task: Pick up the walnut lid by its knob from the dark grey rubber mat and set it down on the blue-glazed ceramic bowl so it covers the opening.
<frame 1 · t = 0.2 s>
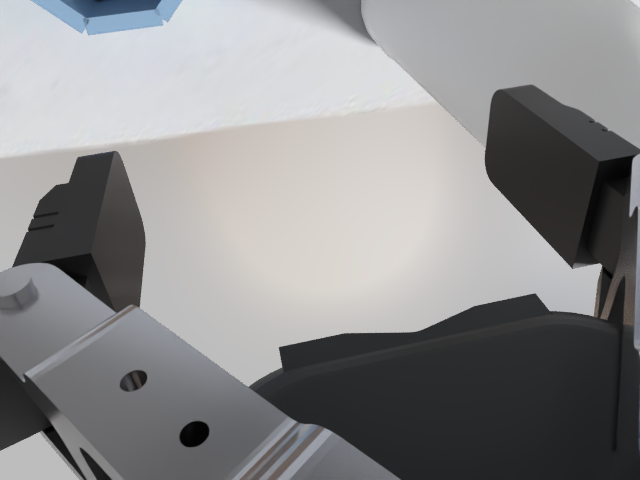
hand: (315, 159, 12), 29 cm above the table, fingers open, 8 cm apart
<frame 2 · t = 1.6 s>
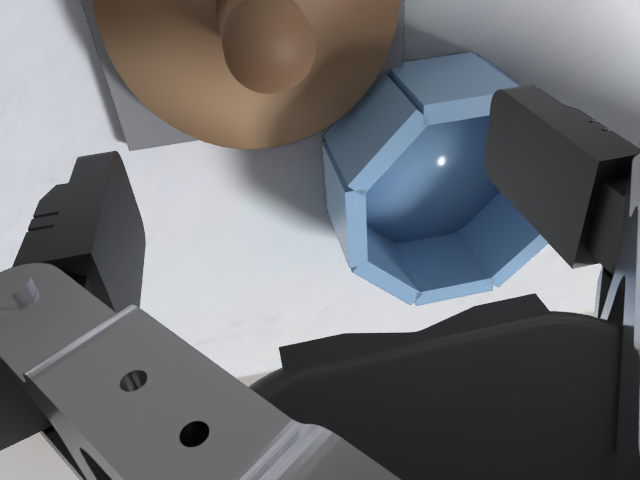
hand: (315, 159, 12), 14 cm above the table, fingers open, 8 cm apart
lid: (252, 5, 22), point 1 cm above the table, touching mat
mat: (250, 1, 23), on the table
bowl: (425, 160, 29), on the table
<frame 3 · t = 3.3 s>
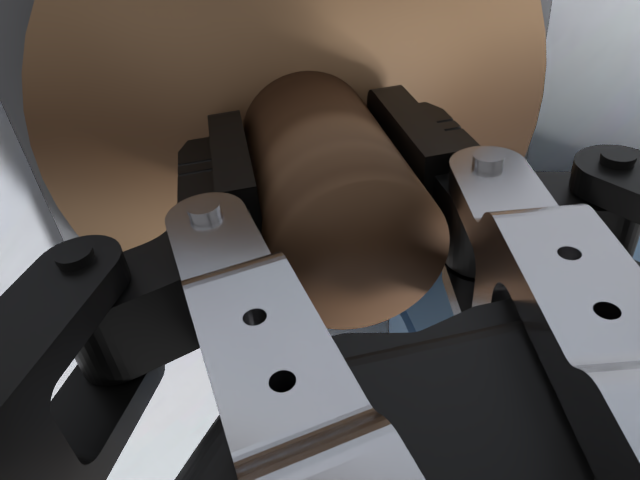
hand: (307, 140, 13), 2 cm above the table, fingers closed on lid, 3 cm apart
lid: (298, 117, 14), point 1 cm above the table, touching gripper, mat
mat: (293, 108, 14), on the table
bowl: (530, 303, 20), on the table
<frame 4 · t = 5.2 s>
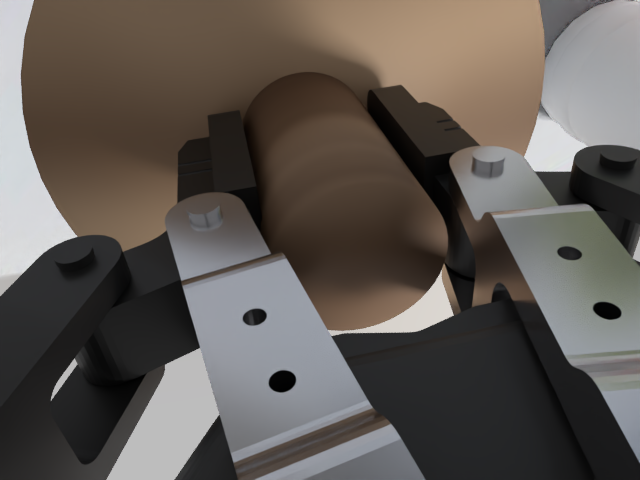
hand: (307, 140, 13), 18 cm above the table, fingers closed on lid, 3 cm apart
lid: (297, 118, 14), point 16 cm above the table, touching gripper
bottle: (595, 65, 33), on the table
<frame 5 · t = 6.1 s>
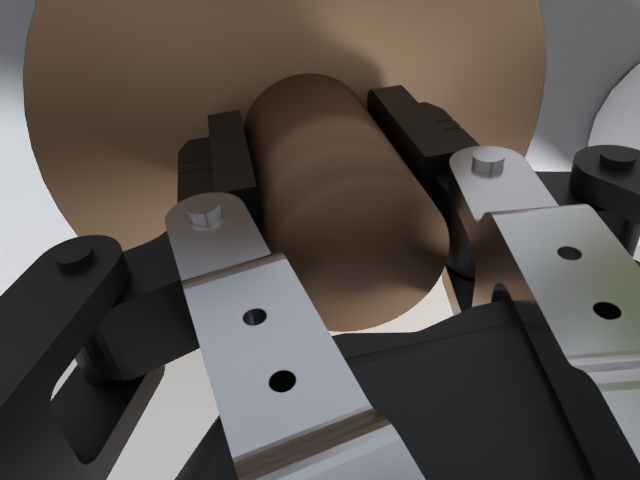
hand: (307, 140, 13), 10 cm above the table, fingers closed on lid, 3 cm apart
lid: (299, 119, 14), point 9 cm above the table, touching gripper
when the fingers open (7 cm above the table, at t = 6.9 s): lid stays where it is, resting on bowl.
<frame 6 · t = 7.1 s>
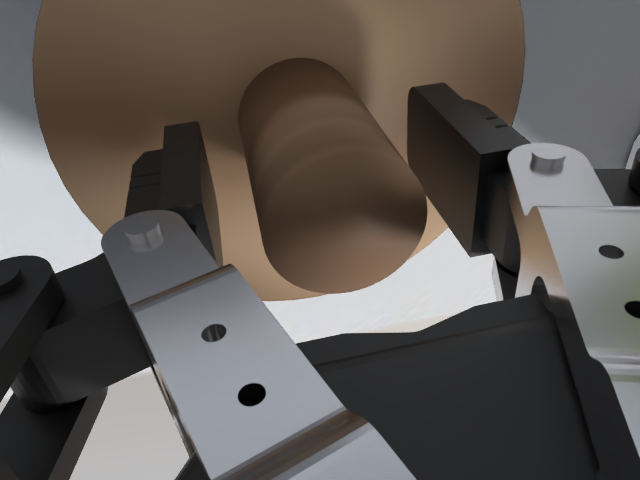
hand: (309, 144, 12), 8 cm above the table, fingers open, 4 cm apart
lid: (292, 103, 14), point 5 cm above the table, touching bowl
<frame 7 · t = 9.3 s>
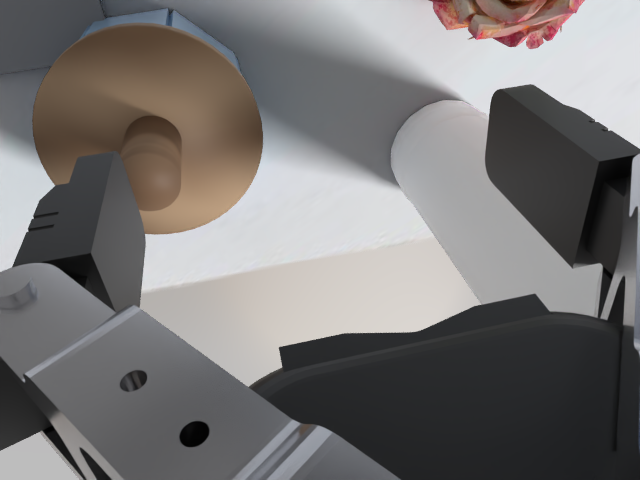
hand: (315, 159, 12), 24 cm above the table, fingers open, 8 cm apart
lid: (154, 134, 31), point 5 cm above the table, touching bowl
bottle: (438, 148, 41), on the table
bowl: (157, 104, 35), on the table
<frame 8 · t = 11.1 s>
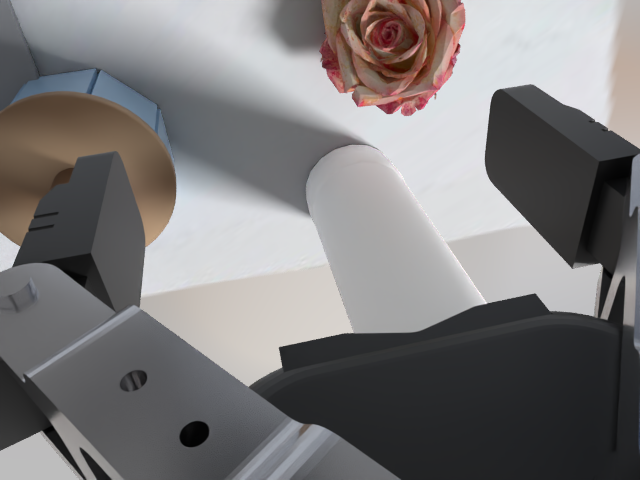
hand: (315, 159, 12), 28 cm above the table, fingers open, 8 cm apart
lid: (80, 181, 35), point 5 cm above the table, touching bowl
flower: (368, 20, 38), on the table
bottle: (349, 184, 46), on the table
bowl: (90, 147, 39), on the table
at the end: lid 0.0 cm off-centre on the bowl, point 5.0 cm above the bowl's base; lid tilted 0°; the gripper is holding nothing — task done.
